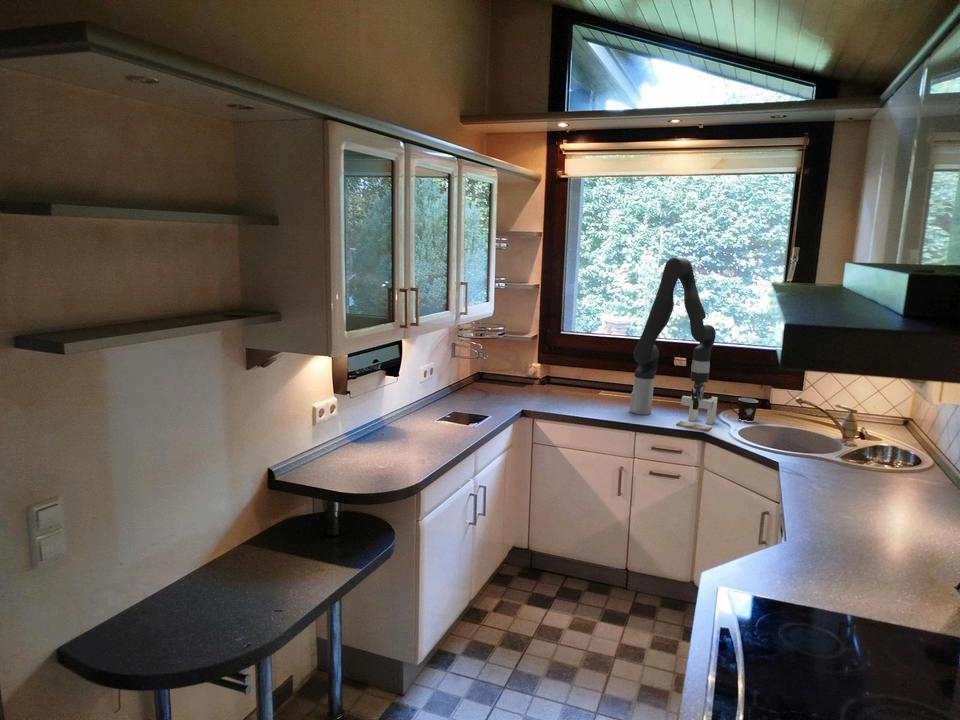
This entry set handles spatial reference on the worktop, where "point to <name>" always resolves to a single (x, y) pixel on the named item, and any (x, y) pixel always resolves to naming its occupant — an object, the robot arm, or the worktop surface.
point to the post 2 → (712, 412)
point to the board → (694, 426)
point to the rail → (702, 402)
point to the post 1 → (693, 414)
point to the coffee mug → (746, 408)
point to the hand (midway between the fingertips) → (696, 408)
